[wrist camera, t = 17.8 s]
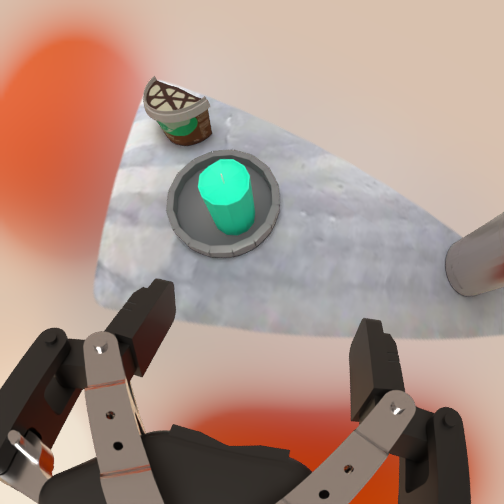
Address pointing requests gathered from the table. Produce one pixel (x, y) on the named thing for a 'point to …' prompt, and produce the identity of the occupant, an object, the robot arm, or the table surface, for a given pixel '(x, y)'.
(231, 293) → the table surface
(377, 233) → the table surface
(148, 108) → the food container
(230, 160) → the candle
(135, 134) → the table surface
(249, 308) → the table surface
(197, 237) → the plate
